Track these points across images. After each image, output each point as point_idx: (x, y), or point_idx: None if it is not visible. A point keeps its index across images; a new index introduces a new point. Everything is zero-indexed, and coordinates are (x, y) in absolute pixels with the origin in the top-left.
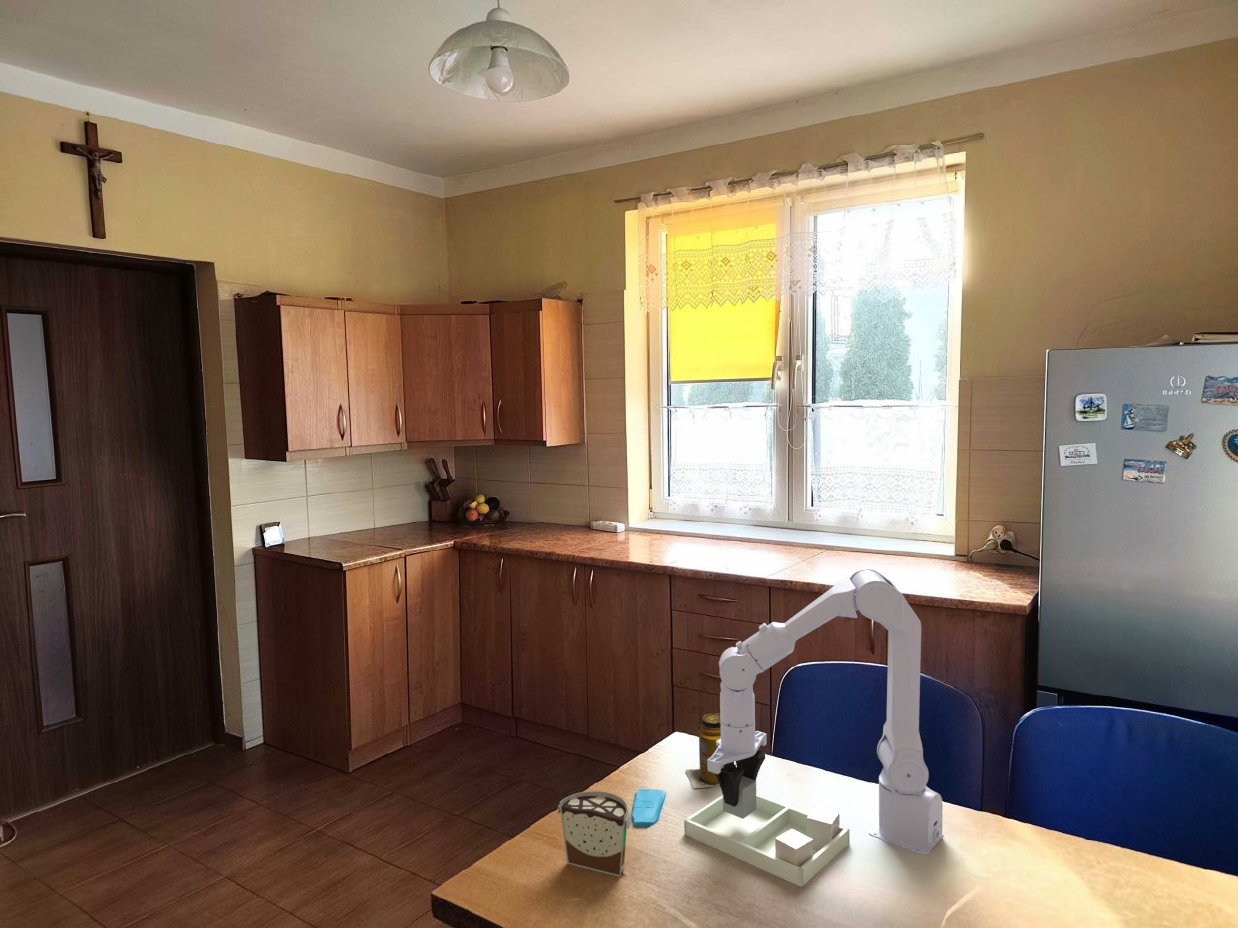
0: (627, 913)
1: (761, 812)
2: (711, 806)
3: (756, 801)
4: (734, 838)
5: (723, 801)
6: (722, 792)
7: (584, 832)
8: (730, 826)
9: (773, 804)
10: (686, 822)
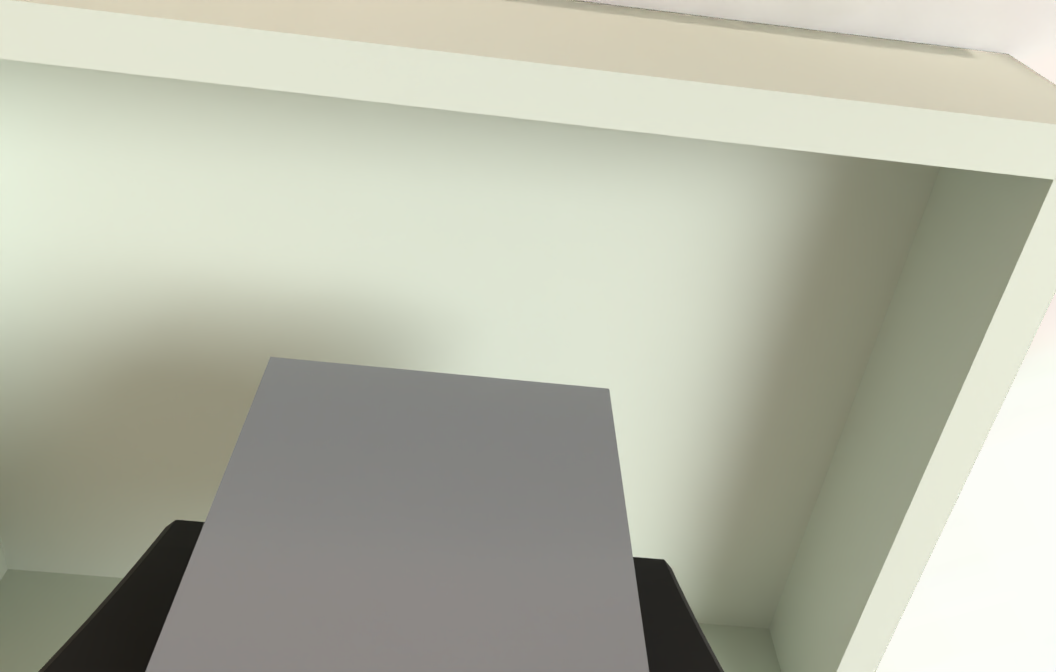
0: None
1: (825, 423)
2: (353, 93)
3: (897, 421)
4: (208, 424)
5: (235, 453)
6: (76, 637)
7: None
8: (379, 297)
9: (839, 624)
10: None
